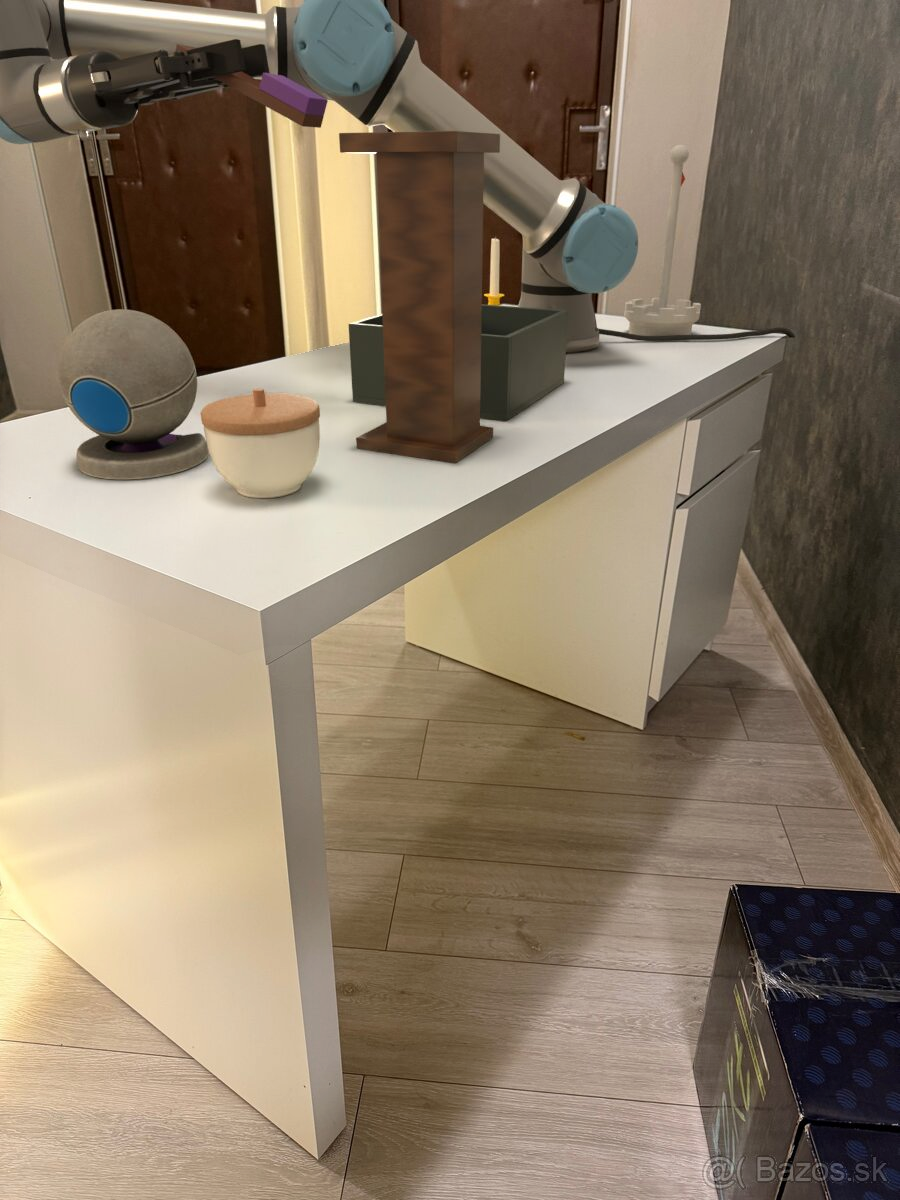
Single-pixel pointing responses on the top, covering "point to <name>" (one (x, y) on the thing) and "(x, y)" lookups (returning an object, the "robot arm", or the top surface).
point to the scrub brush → (277, 95)
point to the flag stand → (665, 277)
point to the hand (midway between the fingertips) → (252, 57)
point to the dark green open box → (508, 358)
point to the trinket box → (263, 441)
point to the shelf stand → (429, 288)
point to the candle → (494, 274)
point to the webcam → (130, 395)
